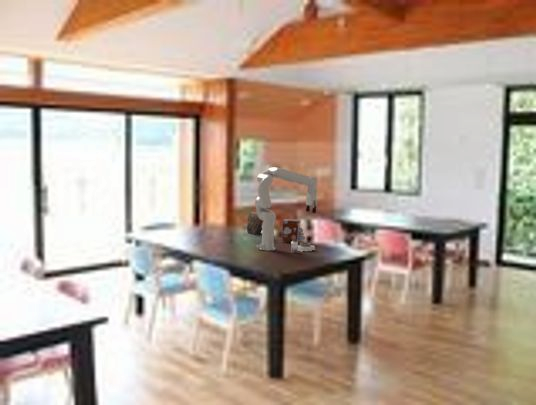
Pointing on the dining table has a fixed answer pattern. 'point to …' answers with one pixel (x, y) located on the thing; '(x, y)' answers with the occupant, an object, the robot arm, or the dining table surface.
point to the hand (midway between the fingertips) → (310, 212)
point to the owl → (254, 223)
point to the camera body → (305, 247)
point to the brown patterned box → (291, 230)
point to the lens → (294, 246)
